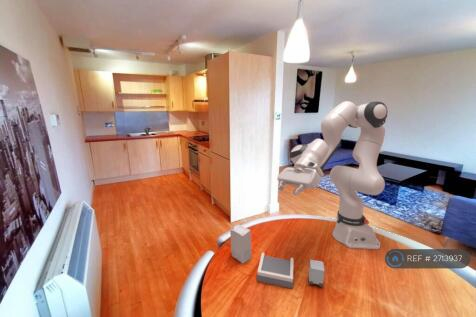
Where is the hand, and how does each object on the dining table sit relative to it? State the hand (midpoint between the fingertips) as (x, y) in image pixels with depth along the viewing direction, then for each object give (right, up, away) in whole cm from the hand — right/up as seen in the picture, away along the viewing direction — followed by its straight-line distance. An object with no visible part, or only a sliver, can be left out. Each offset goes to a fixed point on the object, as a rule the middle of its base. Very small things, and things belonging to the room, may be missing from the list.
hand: (287, 191), depth 88 cm
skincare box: (-19, -33, +13) cm, 40 cm away
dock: (-4, -35, +3) cm, 36 cm away
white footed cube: (+11, -36, -1) cm, 38 cm away
